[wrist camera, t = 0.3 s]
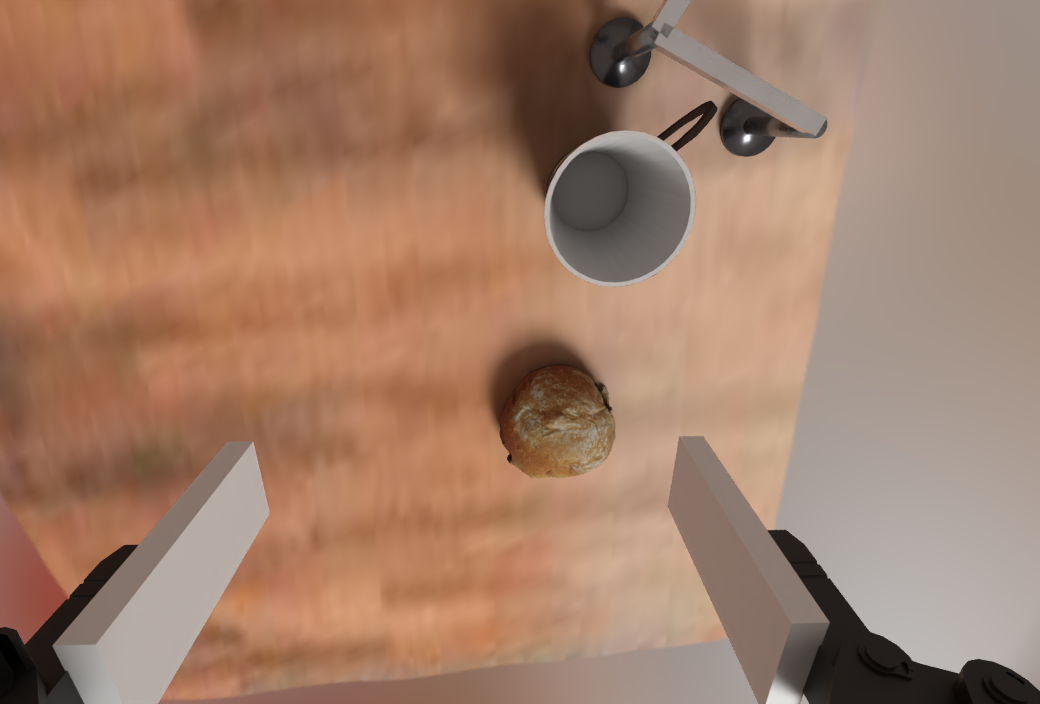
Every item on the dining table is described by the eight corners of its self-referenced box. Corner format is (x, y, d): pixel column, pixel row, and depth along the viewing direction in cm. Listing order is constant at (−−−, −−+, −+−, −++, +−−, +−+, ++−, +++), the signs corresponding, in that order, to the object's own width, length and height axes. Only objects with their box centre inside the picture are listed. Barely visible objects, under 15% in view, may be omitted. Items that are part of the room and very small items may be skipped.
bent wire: (556, -100, 31) (579, -181, 23) (753, -171, 30) (852, -283, 22) (618, 196, 38) (652, 215, 30) (777, 146, 37) (858, 152, 29)
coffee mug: (552, 265, 40) (570, 306, 31) (515, 154, 36) (522, 164, 27) (696, 213, 39) (759, 240, 30) (672, 93, 35) (734, 83, 26)
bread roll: (608, 407, 50) (658, 426, 42) (541, 490, 48) (581, 525, 41) (541, 340, 47) (582, 348, 39) (467, 426, 45) (496, 452, 37)
